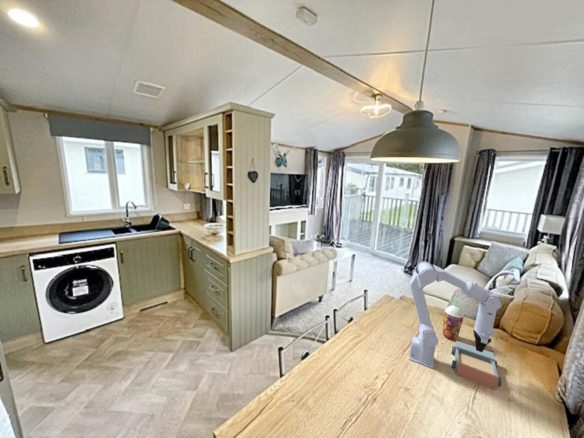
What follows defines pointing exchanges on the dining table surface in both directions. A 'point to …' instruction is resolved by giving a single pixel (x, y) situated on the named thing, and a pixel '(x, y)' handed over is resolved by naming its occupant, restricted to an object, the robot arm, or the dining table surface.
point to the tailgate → (477, 375)
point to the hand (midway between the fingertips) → (478, 349)
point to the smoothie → (452, 321)
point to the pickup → (474, 359)
